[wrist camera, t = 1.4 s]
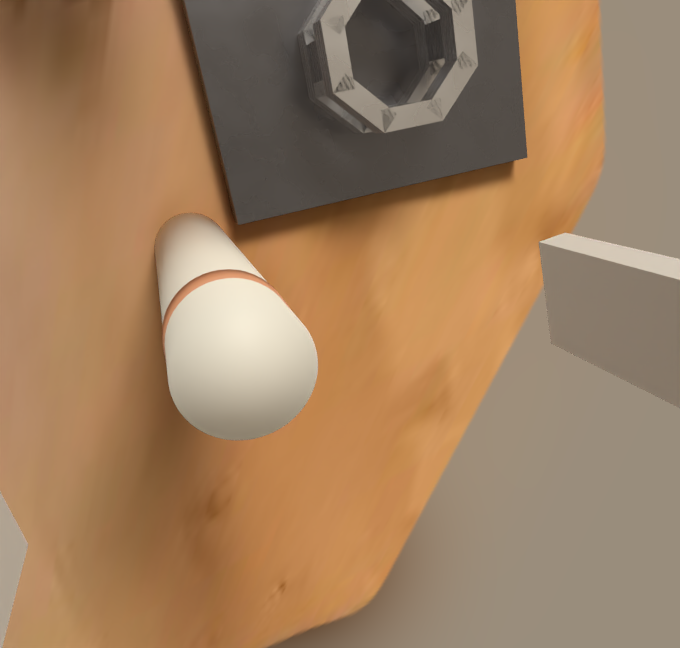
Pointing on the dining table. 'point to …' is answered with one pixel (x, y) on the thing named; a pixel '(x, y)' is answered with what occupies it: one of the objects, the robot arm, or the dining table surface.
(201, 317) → the cream ringed tube
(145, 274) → the dining table surface
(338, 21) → the tube holder base
